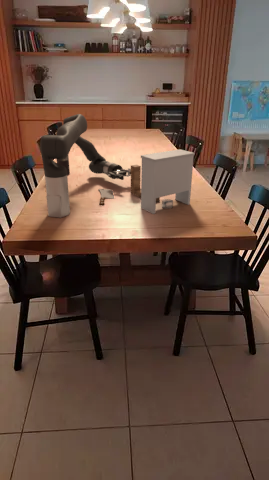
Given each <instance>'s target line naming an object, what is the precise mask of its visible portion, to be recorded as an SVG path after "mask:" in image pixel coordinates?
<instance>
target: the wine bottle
mask: <svg viewBox="0 0 269 480" xmlns="http://www.w3.org/2000/svg"><path fill="white" fill-rule="evenodd" d="M56 125H57V130H58V129H59V128H60V127H61V126H62V125H63V121H57V122H56ZM56 163H57V164H59V165H62V166H64V167H65V168H66V169H67V176H68V175H70V174H71V173H70V172H71V170H70V159H69V155H68V156H67V157H66V158H64V159H56Z"/></svg>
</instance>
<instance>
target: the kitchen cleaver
mask: <svg viewBox="0 0 269 480" xmlns="http://www.w3.org/2000/svg"><path fill="white" fill-rule="evenodd" d="M112 190H113V189H111V188H110V189H109V188H98V190H97V191H98V192H99V193H100V199H99V202H98V203H99V205H98V206H100V205H102V206H105V200H108V199H109V200H110V199H111V200H112V199H113V200H115V199H114V195H113V191H114V190H113V191H112Z"/></svg>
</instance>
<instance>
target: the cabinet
mask: <svg viewBox="0 0 269 480" xmlns="http://www.w3.org/2000/svg"><path fill="white" fill-rule="evenodd" d="M195 154H196V153H195V152H194V151H188V150H184V149H175V150H174V149H173V150H168V151H159V152H154V153H153V152H152V153H148V154H141V155H140V159H141V174H140V189H141V197H140V209H142V210H144V211H147V212H149V213H150V214H152V215H154V214H156V210H157V208H156V207H157V206H156V205H157V202H156V198H159V197H160V198H163V197H167V196H170V195H171V196H172V195H174V198H175V199H174V200H176V201H178V202H180V203H183V204H185V205H187V206H189V205H191V195H192V183H193V182H192V179H193V168H194V167H193V166H194V158H195V157H194V156H195Z"/></svg>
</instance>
